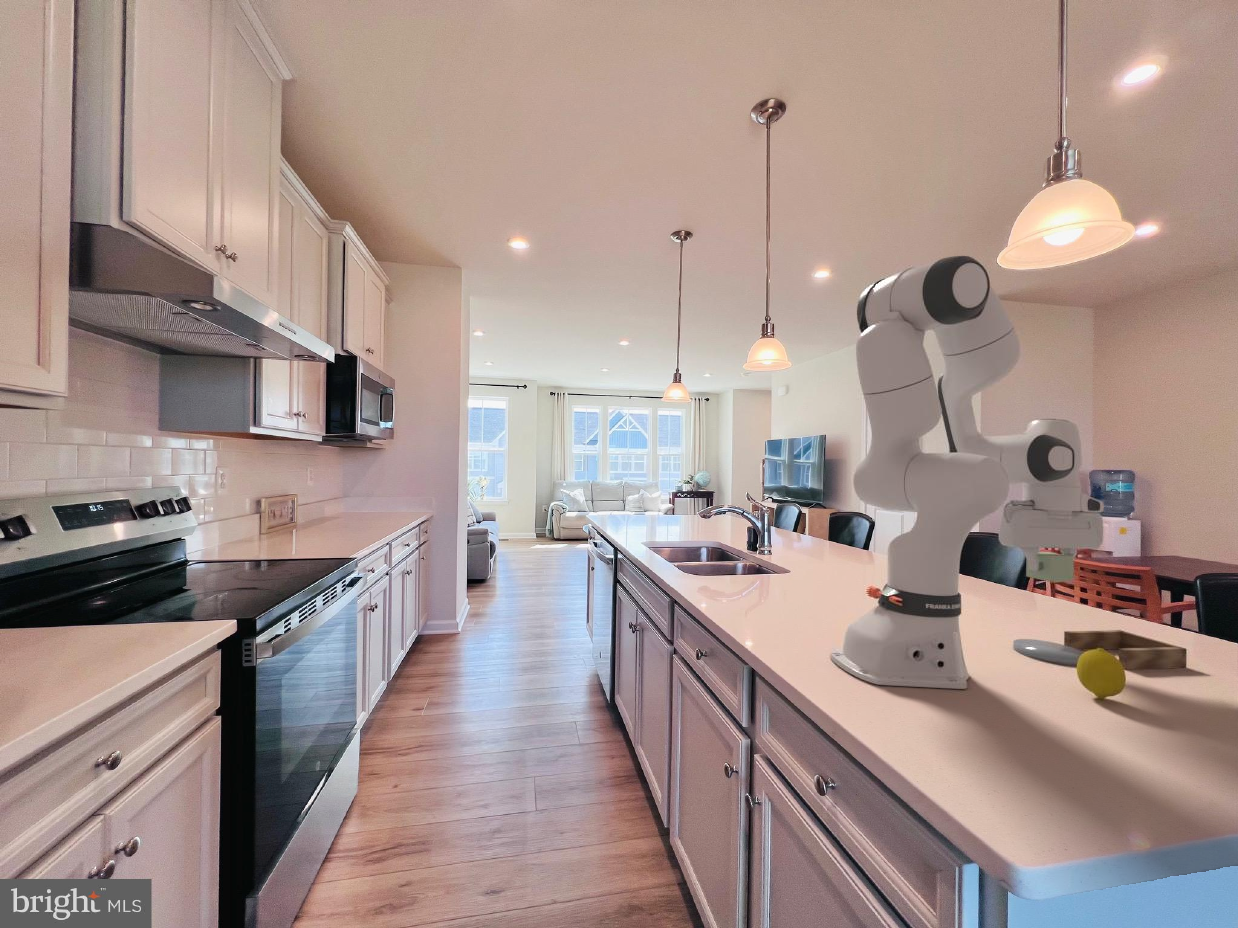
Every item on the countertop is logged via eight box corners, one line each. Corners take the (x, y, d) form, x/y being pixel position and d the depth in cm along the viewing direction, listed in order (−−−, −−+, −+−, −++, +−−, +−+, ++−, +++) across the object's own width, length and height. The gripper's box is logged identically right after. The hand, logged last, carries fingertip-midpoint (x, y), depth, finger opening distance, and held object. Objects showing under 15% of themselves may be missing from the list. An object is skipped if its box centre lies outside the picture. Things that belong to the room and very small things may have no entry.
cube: (1051, 581, 94) (1051, 555, 94) (1026, 576, 99) (1026, 551, 99) (1073, 582, 95) (1073, 556, 95) (1047, 576, 100) (1047, 552, 100)
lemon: (1103, 692, 80) (1104, 643, 80) (1136, 708, 74) (1136, 655, 74) (1067, 689, 80) (1067, 641, 80) (1096, 705, 75) (1097, 653, 75)
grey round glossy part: (1053, 666, 90) (1053, 659, 90) (999, 645, 101) (999, 639, 101) (1103, 664, 92) (1103, 658, 92) (1045, 643, 103) (1045, 638, 103)
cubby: (1125, 669, 90) (1125, 650, 90) (1064, 648, 100) (1064, 631, 100) (1186, 667, 91) (1186, 648, 92) (1120, 646, 102) (1120, 630, 102)
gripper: (1020, 500, 93) (1018, 573, 92) (1111, 503, 95) (1110, 574, 95) (990, 498, 99) (989, 566, 98) (1077, 501, 102) (1076, 567, 101)
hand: (1049, 570), depth 97 cm, fingers closed on cube, 5 cm apart
